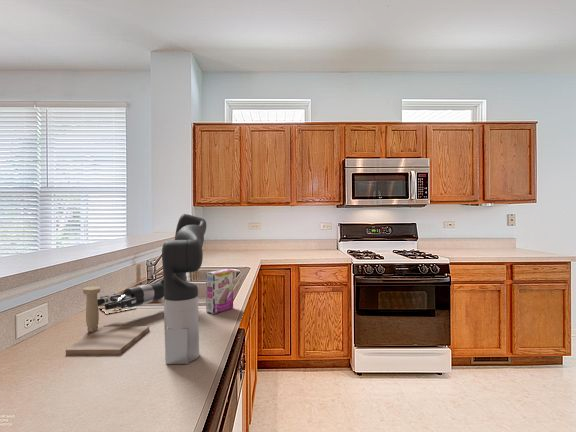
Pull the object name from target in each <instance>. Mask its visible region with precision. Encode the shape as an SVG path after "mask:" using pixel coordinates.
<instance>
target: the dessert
mask: <svg viewBox="0 0 576 432" xmlns="http://www.w3.org/2000/svg"><path fill="white" fill-rule="evenodd" d="M113 309H114V310H116V309H121V307H120V308H113ZM130 309H132V310H135V309H137V306H135V307H134V308H126V309H121V310H116V311H113V312H110V313H112V314H115V313H114V312H117V313H121V312H120V311H122V312H126V311H125V310H127V311H131V310H130ZM106 312H107V311H105V313H104V314H106V315H109V314H108V313H109V312H107V313H106Z"/></svg>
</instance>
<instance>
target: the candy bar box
mask: <svg viewBox="0 0 576 432" xmlns="http://www.w3.org/2000/svg"><path fill="white" fill-rule="evenodd" d="M205 275H206V276H205V277H206V278H205V279H206V282H205V284H206V286H205V293H206V294H205V295H206V297H205V298H206V299H205V302H206V303H205V305H206V306H205V307H206V309H205V311H206V313H208V314H211V315H216V314H219V313H222V312H225V311H228V310H230V309H233V308H234V270H233V269H226V268H225V269H224V268H223V269H219V270H213V271H209V272H206V274H205Z"/></svg>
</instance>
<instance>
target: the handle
mask: <svg viewBox="0 0 576 432" xmlns="http://www.w3.org/2000/svg"><path fill="white" fill-rule="evenodd" d="M82 292H83V293H82V294H84V295H86V303H85V304H86V305H85V307H86V308H85V323H86V324H85V325H86V327H87V329H86V330H87V332H88V333H94V332H96V331H97V330H99V318H100V316H99V314H100V313H99V306H98V300H97V299H98V294H99V293H100V292H101V287H100V286H96V285H95V286H93V285H92V286H86V287H83V288H82Z"/></svg>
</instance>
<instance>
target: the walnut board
mask: <svg viewBox="0 0 576 432" xmlns="http://www.w3.org/2000/svg"><path fill="white" fill-rule="evenodd" d="M148 332H150V326H148V325H146V326H145V325H144V326H142V325H141V326H140V325H138V326H135V325H134V326H128V325H127V326H102V327H101V328H98V329H97V331H94V332H91V334H89V335H87V336H86V337H84V338H82V339H81V340H79V341H78V342H76V343H74V344H73V345H71V346H69V347H68V348H66V349H65V355H66V356H68V355H69V356H70V355H71V356H79V355H81V356H84V355H85V356H89V355H91V356H92V355H95V356H99V355H100V356H102V355H103V356H105V355H106V356H107V355H108V356H109V355H112V356H113V355H117V356H118V355H119V356H120V355H122V354H123V353H124V352H126V350H128V349H129V348H130V347H132V346H133V344H135V343H136V342H138V341H139V340H140V339H141V338H142V337H143V336H144V335H146V334H147V333H148Z"/></svg>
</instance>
